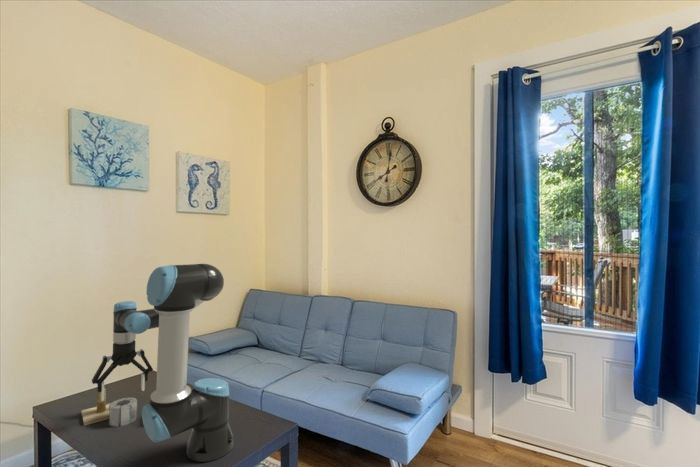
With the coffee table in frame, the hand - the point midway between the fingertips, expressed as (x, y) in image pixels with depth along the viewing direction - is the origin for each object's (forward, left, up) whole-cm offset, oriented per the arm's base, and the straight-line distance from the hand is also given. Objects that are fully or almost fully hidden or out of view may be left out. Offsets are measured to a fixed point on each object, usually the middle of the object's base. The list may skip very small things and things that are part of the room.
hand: (123, 394), depth 139 cm
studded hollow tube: (0, 0, -10) cm, 10 cm away
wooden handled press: (+11, +6, -10) cm, 16 cm away
